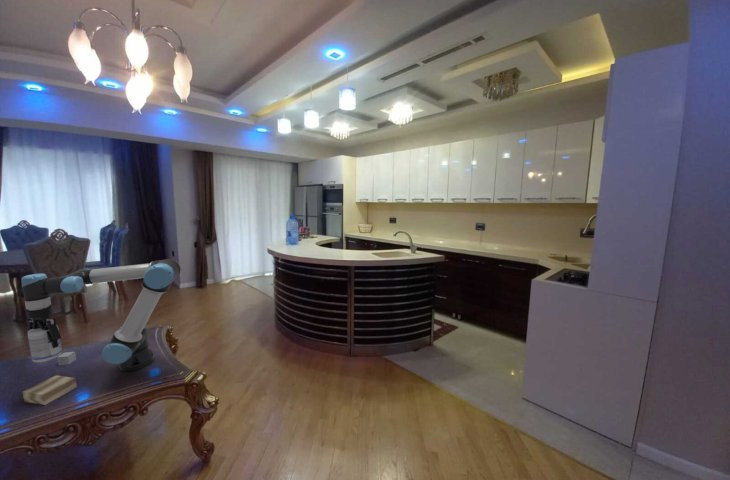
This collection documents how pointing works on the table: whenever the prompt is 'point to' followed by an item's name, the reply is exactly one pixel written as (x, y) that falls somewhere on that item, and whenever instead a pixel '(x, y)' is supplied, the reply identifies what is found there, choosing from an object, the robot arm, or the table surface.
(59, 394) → the oak block
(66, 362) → the grey cube
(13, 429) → the table surface
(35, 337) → the supplement tub
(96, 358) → the table surface
